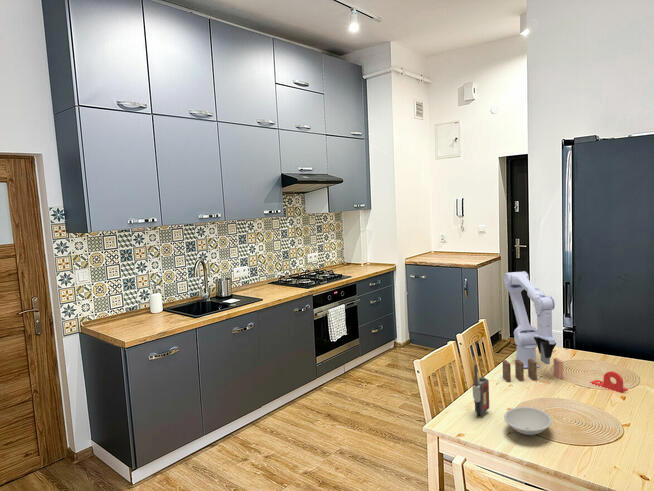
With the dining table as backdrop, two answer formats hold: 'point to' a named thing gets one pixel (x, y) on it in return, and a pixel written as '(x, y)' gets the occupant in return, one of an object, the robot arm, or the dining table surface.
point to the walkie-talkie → (480, 393)
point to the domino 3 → (558, 368)
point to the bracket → (608, 384)
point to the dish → (527, 420)
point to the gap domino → (543, 359)
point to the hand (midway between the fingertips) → (545, 355)
